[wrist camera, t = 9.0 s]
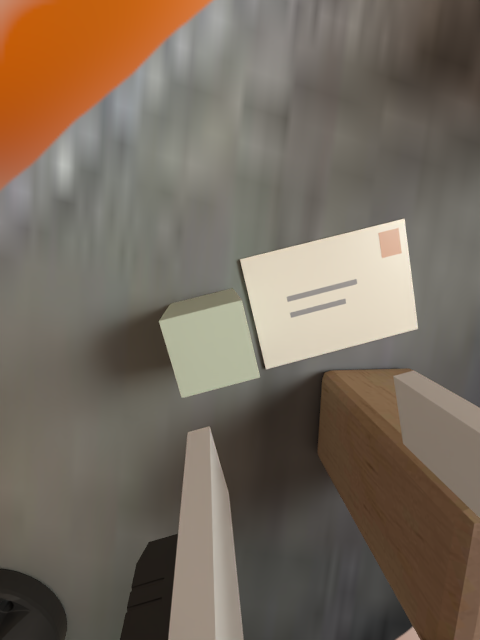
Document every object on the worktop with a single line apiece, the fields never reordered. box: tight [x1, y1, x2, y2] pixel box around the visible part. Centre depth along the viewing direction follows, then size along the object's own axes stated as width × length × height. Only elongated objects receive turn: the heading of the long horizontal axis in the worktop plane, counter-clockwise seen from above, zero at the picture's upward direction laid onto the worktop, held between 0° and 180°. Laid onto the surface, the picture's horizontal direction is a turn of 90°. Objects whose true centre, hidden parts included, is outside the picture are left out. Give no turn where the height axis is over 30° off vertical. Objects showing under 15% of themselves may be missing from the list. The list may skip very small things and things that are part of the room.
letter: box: [240, 219, 418, 369], centre depth 32 cm, size 16×11×1 cm
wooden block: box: [318, 369, 480, 640], centre depth 26 cm, size 10×10×20 cm
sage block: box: [159, 288, 260, 398], centre depth 28 cm, size 6×6×8 cm
